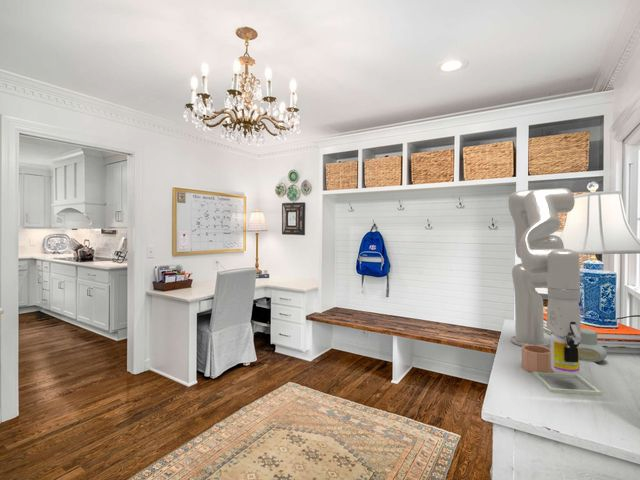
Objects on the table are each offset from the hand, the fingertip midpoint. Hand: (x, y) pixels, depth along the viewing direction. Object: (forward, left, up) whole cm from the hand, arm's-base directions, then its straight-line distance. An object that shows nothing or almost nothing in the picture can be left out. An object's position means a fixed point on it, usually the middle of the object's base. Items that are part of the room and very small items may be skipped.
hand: (564, 356), depth 98 cm
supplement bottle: (0, 0, -4) cm, 4 cm away
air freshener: (-24, +17, -9) cm, 31 cm away
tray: (0, 0, -9) cm, 9 cm away
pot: (-11, -3, -9) cm, 14 cm away
